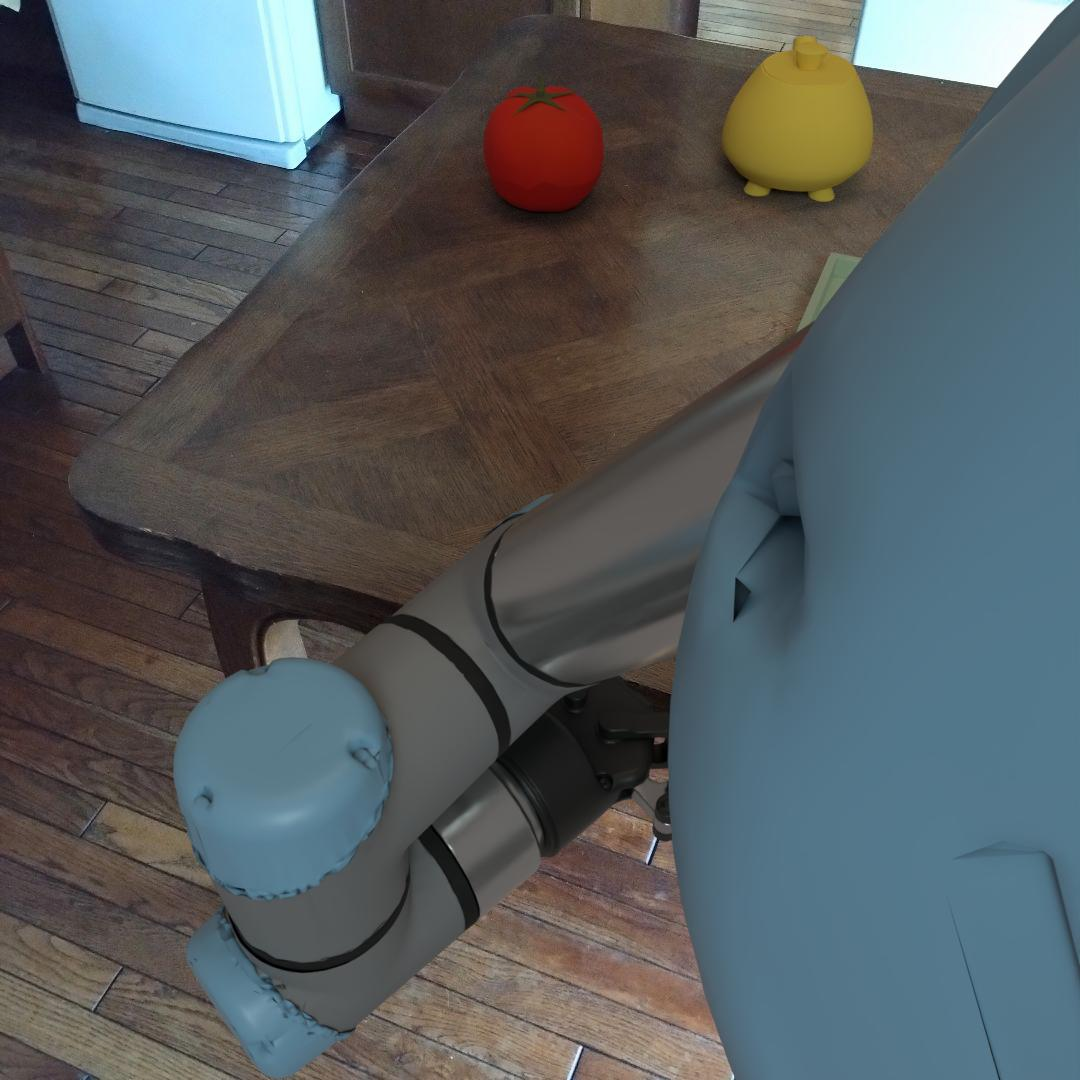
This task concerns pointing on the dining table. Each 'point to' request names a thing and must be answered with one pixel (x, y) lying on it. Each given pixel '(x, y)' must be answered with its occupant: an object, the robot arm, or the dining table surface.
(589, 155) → the tomato
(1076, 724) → the robot arm
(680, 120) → the dining table surface
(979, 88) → the dining table surface
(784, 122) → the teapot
